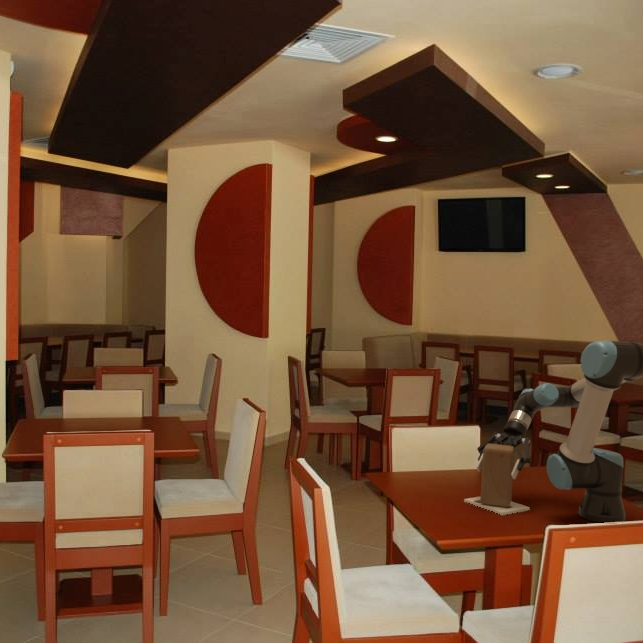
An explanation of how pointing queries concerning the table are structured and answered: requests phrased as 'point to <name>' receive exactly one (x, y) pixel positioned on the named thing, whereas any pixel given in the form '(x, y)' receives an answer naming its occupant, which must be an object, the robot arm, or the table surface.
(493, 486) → the wooden block
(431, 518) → the table surface
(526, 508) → the letter board
